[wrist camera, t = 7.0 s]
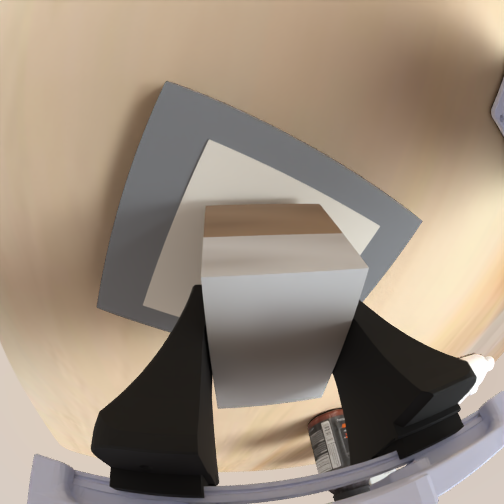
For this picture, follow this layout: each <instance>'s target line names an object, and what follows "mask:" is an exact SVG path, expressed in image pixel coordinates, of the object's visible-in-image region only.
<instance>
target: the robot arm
mask: <svg viewBox="0 0 504 504" xmlns="http://www.w3.org/2000/svg"><path fill="white" fill-rule="evenodd" d="M491 115H492V118H493V119H494V121H495V123H496V124H497V126H498V127H499V129H500V131H501V132H502V134H503V136H504V78H503V81H502V84H501V86H500V89H499V92H498V94H497V97H496V99H495V102H494V104H493V107H492V109H491ZM332 373H333V375H334V378H335V381H336V385H337V388H338V392H339V397H340V401H341V405H342V410H343V415H344V420H345V425H346V431H347V438H348V445H349V454H350V465H351V466H348V467H345V468H341V469H337V470H333V471H329V472H325V473H321V474H316V475H311V476H307V477H301V478H295V479H290V480H283V481H276V482H268V483H259V484H250V485H236V486H217V485H218V484H219V477H218V468H217V459H216V448H215V437H214V424H213V409H212V376H213V373H212V366H211V359H210V352H209V344H208V336H207V328H206V320H205V311H204V302H203V293H202V284H201V285H194V286H193V287H192V291H191V293H190V296H189V299H188V301H187V303H186V305H185V307H184V310H183V311H182V313H181V315H180V317H179V319H178V321H177V323H176V325H175V326H174V328H173V330H172V331H171V333H170V335H169V337H168V338H167V340H166V341H165V343H164V344H163V346H162V347H161V349H160V350H159V351H158V353H157V354H156V355H155V357H154V358H153V359H152V361H151V362H150V363H149V364H148V366H147V367H146V368H145V369H144V370H143V372H142V373H141V374H140V375H139V376H138V377H137V378H136V379H135V380H134V381H133V382H132V383H131V384H130V385H129V386H128V387H127V388H126V389H125V390H124V391H123V392H122V393H121V394H120V395H119V396H118V397H117V398H115V399H114V400H113V401H112V402H111V403H109V404H108V405H107V406H106V407H105V408H104V409H102V410H101V411H100V412H99V415H98V417H97V420H96V423H95V427H94V431H93V437H92V444H91V451H92V452H93V454H94V455H95V456H96V457H98V458H99V459H100V460H102V461H103V462H105V463H106V464H108V465H109V466H110V467H111V472H110V478H108V477H103V476H98V475H93V474H89V473H85V472H81V471H77V470H74V469H73V468H72V467H70V466H69V465H67V464H65V463H63V462H60V461H57V460H54V459H51V458H48V457H44V456H42V455H39V454H35V455H34V459H33V465H32V471H31V477H30V484H29V492H28V502H27V504H247V503H248V504H249V503H259V502H268V501H275V500H282V499H289V498H294V497H300V496H305V495H310V494H315V493H319V492H323V491H328V490H332V489H336V488H339V487H343V486H347V485H350V484H353V483H357V482H360V481H363V480H366V479H369V478H372V477H375V476H378V475H380V474H383V473H386V472H388V471H391V470H393V469H396V468H398V467H401V466H403V465H405V464H407V465H406V466H405V467H403V468H401V469H399V470H397V471H394V472H392V473H390V474H389V475H388V476H387V477H385V478H383V479H381V480H380V481H378V482H376V483H374V484H371V485H370V487H369V488H370V491H368V492H365V493H362V494H359V495H356V496H352V497H349V498H346V499H342V500H339V501H335V502H331V503H328V504H437V503H438V501H439V500H438V497H439V496H441V495H442V494H444V493H445V492H447V491H448V490H450V489H451V488H453V487H454V486H455V485H457V484H458V483H460V482H461V481H462V480H464V479H465V478H467V477H468V476H469V475H471V474H472V473H473V472H475V471H476V470H477V469H478V468H480V467H481V466H482V465H483V464H484V463H486V462H487V461H488V460H489V459H490V458H492V457H493V456H494V455H495V454H496V453H497V452H498V451H500V450H501V449H502V448H503V447H504V391H501V392H499V393H498V394H496V395H495V396H493V397H492V398H490V399H489V400H488V401H487V402H485V403H484V404H483V405H482V406H481V407H480V408H479V410H477V411H476V412H475V413H473V414H471V415H469V416H467V417H466V418H464V419H462V420H461V419H460V417H459V414H458V412H459V411H460V410H461V408H460V406H459V404H458V402H459V401H460V400H461V399H462V398H463V397H464V396H465V395H466V394H467V393H468V392H469V391H470V390H471V389H472V387H473V386H474V385H475V383H476V380H477V376H476V375H475V373H474V371H473V370H472V368H471V366H470V365H469V363H468V362H467V361H465V360H462V359H459V358H456V357H453V356H450V355H447V354H444V353H442V352H440V351H437V350H435V349H433V348H431V347H429V346H427V345H424V344H423V343H421V342H419V341H417V340H415V339H413V338H411V337H410V336H408V335H406V334H405V333H403V332H402V331H400V330H399V329H397V328H395V327H394V326H392V325H391V324H390V323H388V322H387V321H385V320H384V319H383V318H381V317H380V316H379V315H378V314H376V313H375V312H374V311H372V310H371V309H370V308H369V307H368V306H366V305H365V304H364V303H363V302H362V301H360V300H359V302H358V305H357V308H356V311H355V314H354V317H353V320H352V322H351V325H350V328H349V331H348V334H347V336H346V339H345V342H344V344H343V347H342V349H341V352H340V355H339V357H338V360H337V362H336V364H335V367H334V369H333V372H332Z"/></svg>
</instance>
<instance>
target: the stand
mask: <svg viewBox="0 0 504 504" xmlns="http://www.w3.org/2000/svg"><path fill="white" fill-rule="evenodd" d="M241 204H320V205H321V206H322V208H323V209H324V210H325V211H326V213H327V214H328V215H329V216H330V217H331V219H332V220H333V221H334V223H335V224H336V225H337V226H338V228H339V229H340V230H341V231H342V233H343V234H344V235H345V237H346V238H347V239H348V240H349V242H350V243H351V244H352V246H353V247H354V248H355V250H356V251H357V252H358V254H359V255H360V256H361V258H362V259H363V260H364V262H365V263H366V265H367V266H368V267H369V270H368V273H367V277H366V280H365V283H364V286H363V290H362V293H361V296H360V299H359V300H360V301H362V302H363V301H364V299H365V298H366V297H367V296H368V295H369V293H370V292H371V291H372V290H373V288H374V287H375V286H376V285H377V283H378V282H379V281H380V280H381V278H382V277H383V276H384V274H385V273H386V272H387V270H388V269H389V268H390V267H391V265H392V264H393V263H394V261H395V260H396V258H397V257H398V256H399V254H400V253H401V252H402V250H403V249H404V247H405V246H406V245H407V243H408V242H409V240H410V239H411V238H412V236H413V235H414V233H415V232H416V230H417V229H418V227H419V226H420V224H421V223H422V220H420V219H419V218H418V217H417V216H416V215H414V214H413V213H412V212H411V211H409V210H408V209H407V208H405V207H404V206H403V205H401V204H400V203H399V202H397V201H396V200H394V199H393V198H392V197H390V196H389V195H387V194H386V193H385V192H383V191H382V190H380V189H379V188H377V187H376V186H374V185H373V184H371V183H370V182H368V181H367V180H365V179H364V178H362V177H361V176H359V175H358V174H356V173H355V172H353V171H351V170H350V169H348V168H347V167H345V166H343V165H342V164H340V163H339V162H337V161H335V160H334V159H332V158H330V157H329V156H327V155H325V154H324V153H322V152H320V151H318V150H317V149H315V148H313V147H311V146H310V145H308V144H306V143H304V142H302V141H301V140H299V139H297V138H295V137H293V136H291V135H289V134H288V133H286V132H284V131H282V130H280V129H278V128H276V127H274V126H272V125H270V124H268V123H266V122H264V121H262V120H260V119H258V118H256V117H254V116H252V115H250V114H247V113H245V112H243V111H241V110H239V109H237V108H234V107H232V106H230V105H228V104H225V103H223V102H221V101H218V100H216V99H214V98H211V97H209V96H206V95H204V94H201V93H199V92H196V91H194V90H191V89H189V88H186V87H183V86H181V85H178V84H175V83H173V82H168V81H166V82H165V84H164V86H163V88H162V91H161V93H160V95H159V97H158V99H157V102H156V104H155V106H154V108H153V111H152V113H151V116H150V118H149V120H148V123H147V125H146V128H145V130H144V133H143V135H142V138H141V141H140V143H139V146H138V149H137V151H136V154H135V157H134V160H133V163H132V166H131V168H130V171H129V174H128V177H127V181H126V184H125V187H124V190H123V193H122V197H121V200H120V204H119V207H118V211H117V214H116V218H115V222H114V226H113V229H112V233H111V237H110V242H109V246H108V250H107V255H106V259H105V264H104V269H103V274H102V279H101V285H100V290H99V296H98V303H97V308H99V309H102V310H104V311H107V312H110V313H113V314H116V315H118V316H121V317H124V318H127V319H130V320H133V321H136V322H139V323H142V324H145V325H148V326H151V327H155V328H158V329H161V330H164V331H168V332H171V331H172V330H173V328H174V326H175V325H176V323H177V321H178V319H179V317H180V315H181V313H182V311H183V310H184V307H185V305H186V303H187V301H188V299H189V296H190V293H191V291H192V287H193V286H194V285H201V284H202V283H201V267H202V249H203V234H204V219H205V207H206V206H209V205H241Z"/></svg>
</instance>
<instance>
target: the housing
mask: <svg viewBox="0 0 504 504" xmlns="http://www.w3.org/2000/svg"><path fill="white" fill-rule="evenodd" d="M368 270H369V267H368V266H367V265H366V263H365V262H364V260H363V259H362V258H361V256H360V255H359V254H358V252H357V251H356V250H355V248H354V247H353V246H352V244H351V243H350V242H349V240H348V239H347V238H346V237H345V235H344V234H343V233H342V231H341V230H340V229H339V228H338V226H337V225H336V224H335V223H334V221H333V220H332V219H331V217H330V216H329V215H328V214H327V213H326V211H325V210H324V209H323V208H322V206H321V205H320V204H241V205H209V206H206V207H205V219H204V234H203V249H202V267H201V283H202V293H203V302H204V311H205V320H206V328H207V336H208V344H209V352H210V359H211V366H212V373H213V380H214V387H215V393H216V399H217V406H218V409H219V408H238V407H251V406H262V405H272V404H280V403H288V402H296V401H302V400H309V399H315V398H320V397H322V395H323V393H324V390H325V388H326V386H327V383H328V381H329V379H330V376H331V374H332V372H333V369H334V367H335V364H336V362H337V360H338V357H339V355H340V352H341V349H342V347H343V344H344V342H345V339H346V336H347V334H348V331H349V328H350V325H351V322H352V320H353V317H354V314H355V311H356V308H357V305H358V302H359V299H360V296H361V293H362V290H363V286H364V283H365V280H366V277H367V273H368Z"/></svg>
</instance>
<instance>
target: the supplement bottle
mask: <svg viewBox="0 0 504 504" xmlns="http://www.w3.org/2000/svg"><path fill="white" fill-rule="evenodd" d="M308 431H309V436H310V440H311V444H312V449H313V453H314V457H315V461H316V465H317V470H318V474H321V473H325V472H329V471H333V470H337V469H341V468H345V467H348V466H351V465H350V454H349V445H348V438H347V431H346V425H345V420H344V415H343V410H342V409H335V410H332V411H329V412H326V413H324V414H321V415H319V416H317V417H316V418H314V419H313V420H312V421H311V422H310V423H309V424H308ZM369 480H370V478H369V479H366V480H363V481H360V482H357V483H353V484H350V485H347V486H343V487H339V488H336V489H332V490H328V491H330V492H331V493H333V494H334V496H333V498H334V501H339V500H342V499H346V498H349V497H352V496H356V495H359V494H362V493H365V492H368V491H370V488H369V487H370V485H369Z"/></svg>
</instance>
